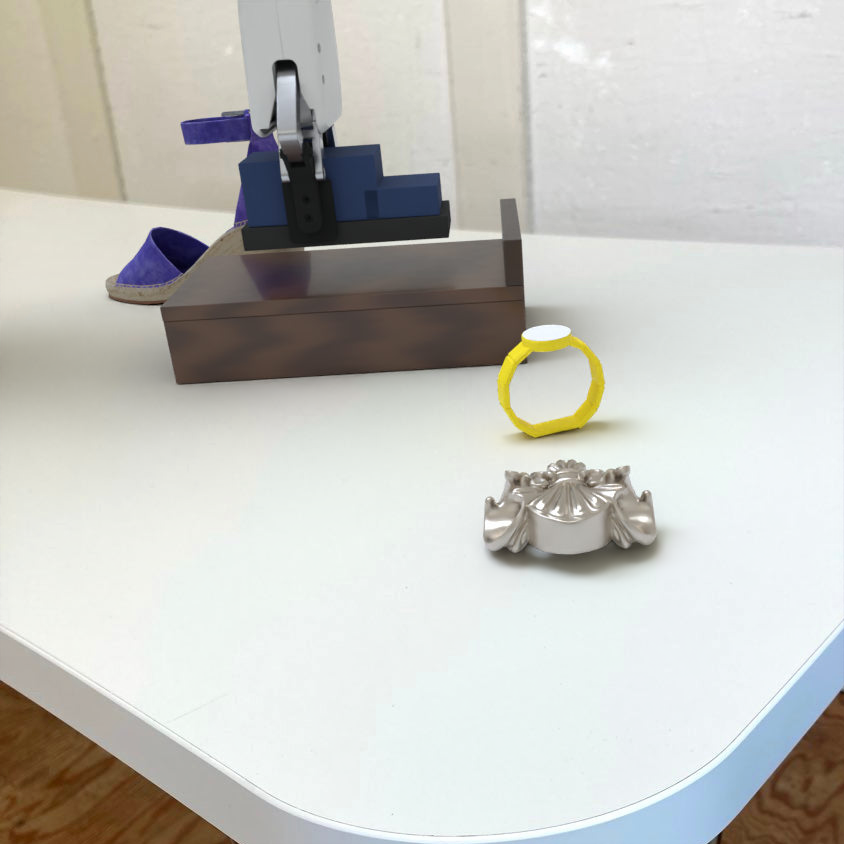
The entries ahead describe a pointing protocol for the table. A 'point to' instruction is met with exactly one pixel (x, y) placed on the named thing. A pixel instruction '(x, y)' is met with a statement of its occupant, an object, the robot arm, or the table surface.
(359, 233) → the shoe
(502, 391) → the watch
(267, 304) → the wooden riser with lip
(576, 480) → the ornament
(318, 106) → the robot arm
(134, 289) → the sandal
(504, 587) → the table surface
